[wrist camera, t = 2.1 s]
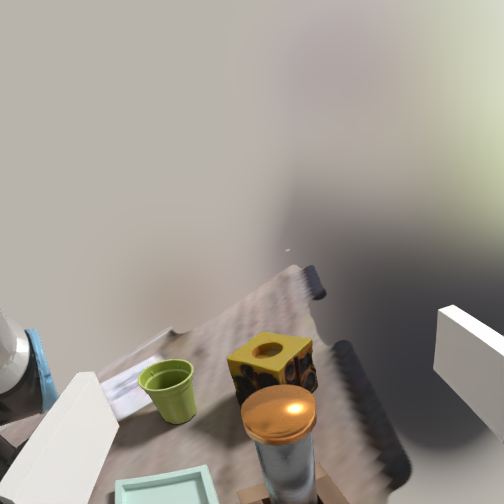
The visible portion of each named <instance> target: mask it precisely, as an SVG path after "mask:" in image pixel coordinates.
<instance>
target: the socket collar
mask: <svg viewBox="0 0 504 504" xmlns="http://www.w3.org/2000/svg"><path fill="white" fill-rule="evenodd" d="M315 475H316V488H317V503H318V504H350V503H349V502H348V501H347V500H346V498H345V497H344V496H343V494H342V493H341V492H340V490H339V489H338V488H337V486H336V485H335V484H334V482H333V481H332V479H331V478H330V477H329V475H328V474H327V473H326V471H325V470H324V469H323V467H322V466H321V464H320V463H317V464H315ZM237 495H238V498H239V500H240V503H241V504H271V501H270V498H269V494H268V490H267V487H266V483H263V484H260V485H257V486H254V487H250V488H247V489H244V490H240V491H237Z"/></svg>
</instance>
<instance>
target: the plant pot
mask: <svg viewBox="0 0 504 504" xmlns="http://www.w3.org/2000/svg"><path fill="white" fill-rule="evenodd" d="M193 371H194V370H193V366H192V364H191V363H189V362H188V361H185V360H181V359H170V360H164V361H160V362H157V363H155V364H152V365H151V366H149V367H147V368H146V369H144V370H143V371H142V372H141V373H140V375H139V377H138V384H139V385H140V387H141V388H142V389H144V390H145V392H146V393H147V394H149V396H150V398H151V399H152V401H153V402H154V404H155V406H156V407H157V409H158V410H159V412H160V414H161V415H162V417H163V418H164V420H165V421H167V422H170V423H172V424H180V423H184V422H187V421H189V420H190V419H191V418H192V416H193V415H195V414H196V412H197V408H196V403H195V398H194V391H193V385H192V379H193V378H192V375H193Z"/></svg>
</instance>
